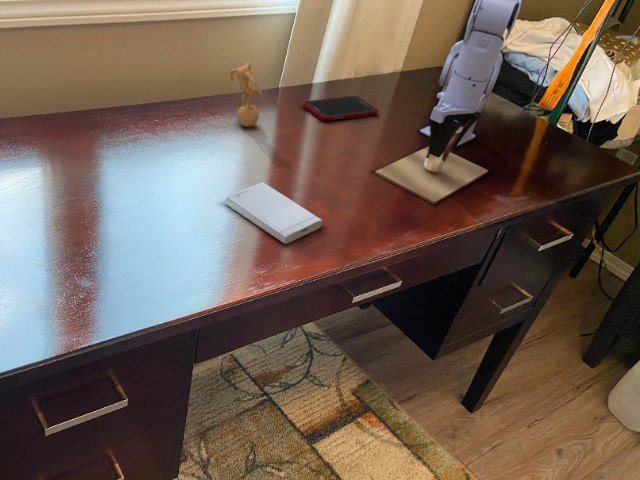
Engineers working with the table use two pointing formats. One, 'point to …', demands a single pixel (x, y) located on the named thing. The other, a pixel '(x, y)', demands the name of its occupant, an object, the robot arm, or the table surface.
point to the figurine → (247, 112)
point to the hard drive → (273, 212)
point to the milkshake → (438, 163)
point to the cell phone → (340, 108)
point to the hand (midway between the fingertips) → (441, 151)
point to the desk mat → (431, 175)
